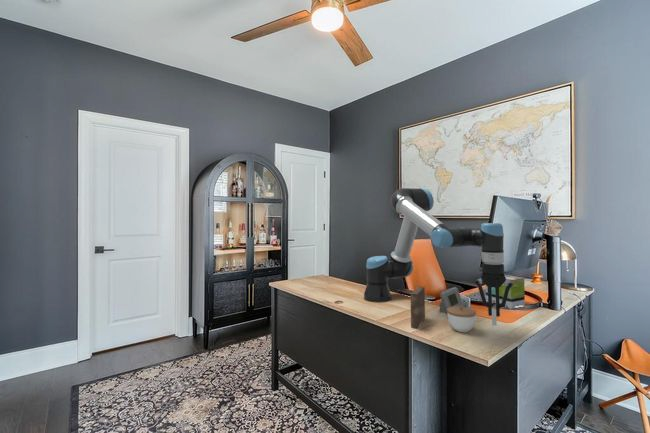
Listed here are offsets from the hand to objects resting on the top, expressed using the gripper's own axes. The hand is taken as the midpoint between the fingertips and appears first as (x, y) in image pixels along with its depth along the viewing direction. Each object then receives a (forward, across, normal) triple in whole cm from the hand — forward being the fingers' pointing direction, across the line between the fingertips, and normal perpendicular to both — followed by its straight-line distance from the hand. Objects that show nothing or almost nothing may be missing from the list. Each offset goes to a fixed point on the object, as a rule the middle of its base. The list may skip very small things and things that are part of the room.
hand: (494, 324), depth 119 cm
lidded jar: (+4, -12, 0) cm, 12 cm away
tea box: (+4, +4, +48) cm, 49 cm away
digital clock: (+4, -18, +23) cm, 30 cm away
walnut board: (+4, -29, +1) cm, 29 cm away
